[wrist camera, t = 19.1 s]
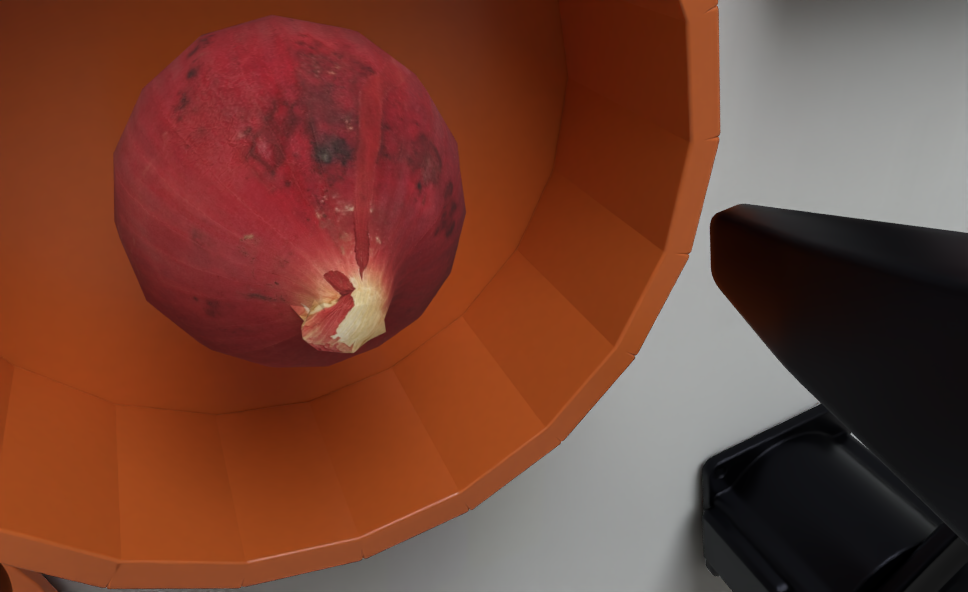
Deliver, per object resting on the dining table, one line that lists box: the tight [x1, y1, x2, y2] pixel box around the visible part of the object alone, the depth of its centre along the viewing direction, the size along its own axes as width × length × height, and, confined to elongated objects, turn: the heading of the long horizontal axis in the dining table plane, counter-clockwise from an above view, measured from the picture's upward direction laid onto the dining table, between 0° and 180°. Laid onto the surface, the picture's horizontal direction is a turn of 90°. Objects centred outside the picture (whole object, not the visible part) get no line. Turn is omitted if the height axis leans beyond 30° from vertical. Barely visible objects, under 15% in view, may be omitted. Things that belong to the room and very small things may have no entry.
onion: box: [113, 15, 466, 368], centre depth 14 cm, size 6×6×8 cm
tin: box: [0, 0, 720, 589], centre depth 15 cm, size 16×16×6 cm
